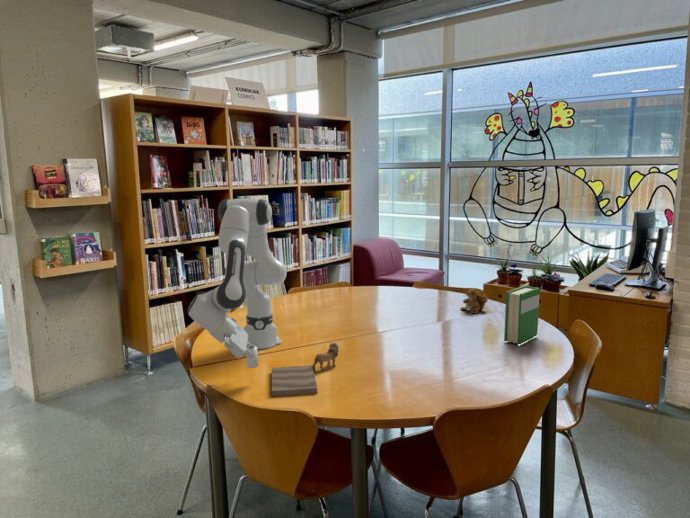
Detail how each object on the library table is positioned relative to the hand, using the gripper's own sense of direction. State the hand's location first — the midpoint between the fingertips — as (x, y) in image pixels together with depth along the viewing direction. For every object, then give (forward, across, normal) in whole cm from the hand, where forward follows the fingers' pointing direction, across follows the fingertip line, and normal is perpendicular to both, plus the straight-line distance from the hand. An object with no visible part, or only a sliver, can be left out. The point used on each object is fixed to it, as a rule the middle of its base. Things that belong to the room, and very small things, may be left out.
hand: (253, 354), depth 187 cm
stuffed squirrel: (+94, +81, -76) cm, 145 cm away
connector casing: (+3, 0, +4) cm, 4 cm away
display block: (+18, -2, -2) cm, 18 cm away
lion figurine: (+28, +11, -12) cm, 32 cm away
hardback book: (+94, +29, -77) cm, 125 cm away
